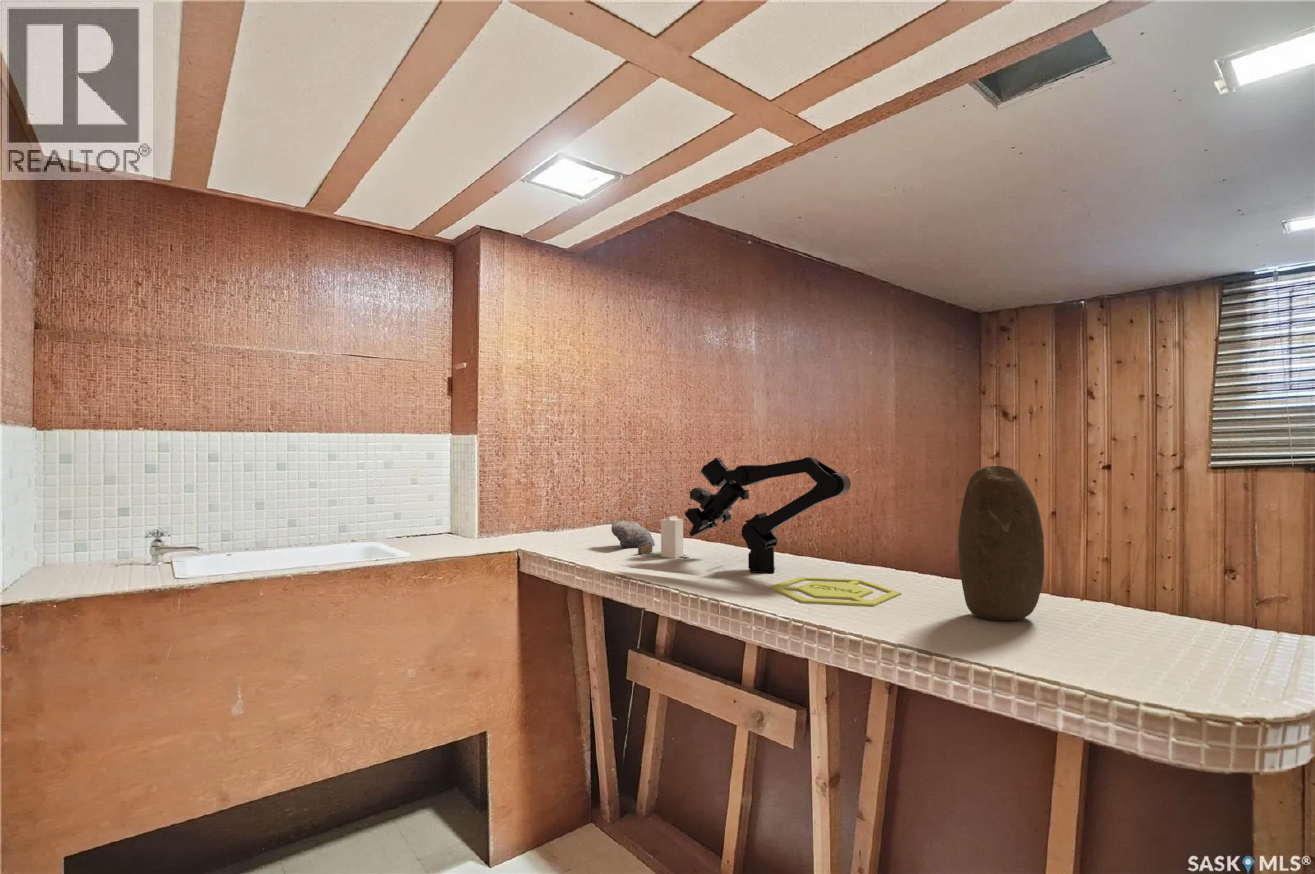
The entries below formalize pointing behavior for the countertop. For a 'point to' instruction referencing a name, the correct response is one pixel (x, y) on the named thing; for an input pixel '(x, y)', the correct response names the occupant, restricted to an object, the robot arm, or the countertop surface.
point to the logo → (834, 591)
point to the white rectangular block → (672, 537)
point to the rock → (631, 534)
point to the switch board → (648, 551)
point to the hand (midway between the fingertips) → (691, 534)
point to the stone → (1000, 545)
